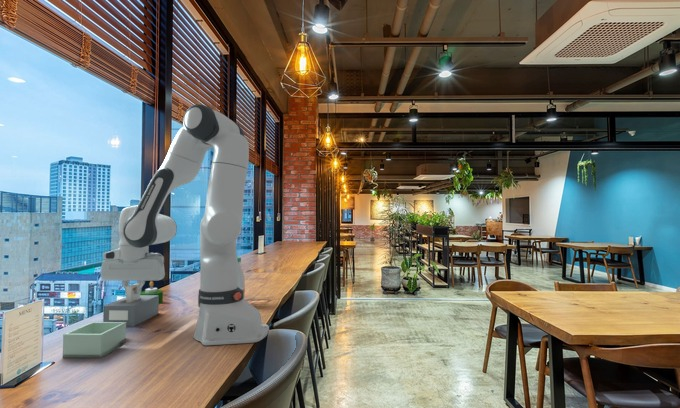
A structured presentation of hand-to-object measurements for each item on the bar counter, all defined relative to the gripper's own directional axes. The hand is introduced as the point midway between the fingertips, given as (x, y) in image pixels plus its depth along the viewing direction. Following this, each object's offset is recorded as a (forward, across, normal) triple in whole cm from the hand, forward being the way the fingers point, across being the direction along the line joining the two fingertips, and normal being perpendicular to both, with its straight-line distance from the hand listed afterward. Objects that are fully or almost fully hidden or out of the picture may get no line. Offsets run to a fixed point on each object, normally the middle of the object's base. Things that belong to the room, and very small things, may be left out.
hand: (133, 293), depth 114 cm
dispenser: (+10, 0, 0) cm, 10 cm away
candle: (+11, +7, -23) cm, 26 cm away
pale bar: (+8, 0, 0) cm, 8 cm away
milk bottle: (+11, -28, -21) cm, 37 cm away
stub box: (+10, -4, +22) cm, 24 cm away
